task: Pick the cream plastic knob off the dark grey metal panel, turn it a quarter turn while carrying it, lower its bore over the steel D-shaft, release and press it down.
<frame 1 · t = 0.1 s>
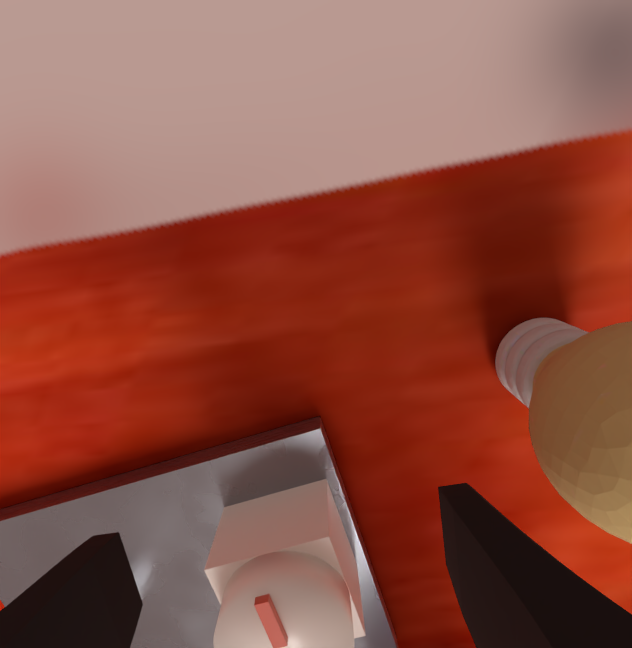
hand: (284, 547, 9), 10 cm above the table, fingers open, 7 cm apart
light bulb: (528, 352, 19), on the table
panel: (197, 578, 21), on the table
knob: (291, 536, 19), point 1 cm above the table, touching panel
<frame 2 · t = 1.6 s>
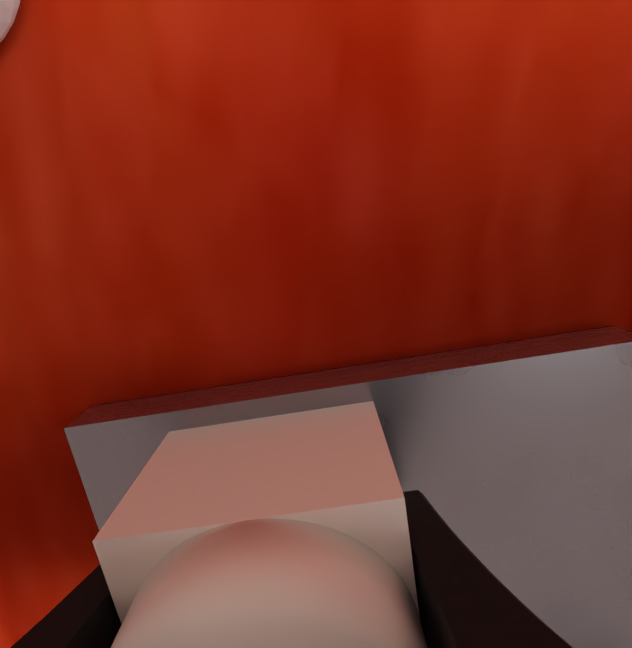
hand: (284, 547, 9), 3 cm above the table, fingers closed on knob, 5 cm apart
panel: (386, 630, 13), on the table
knob: (288, 504, 10), point 1 cm above the table, touching gripper, panel
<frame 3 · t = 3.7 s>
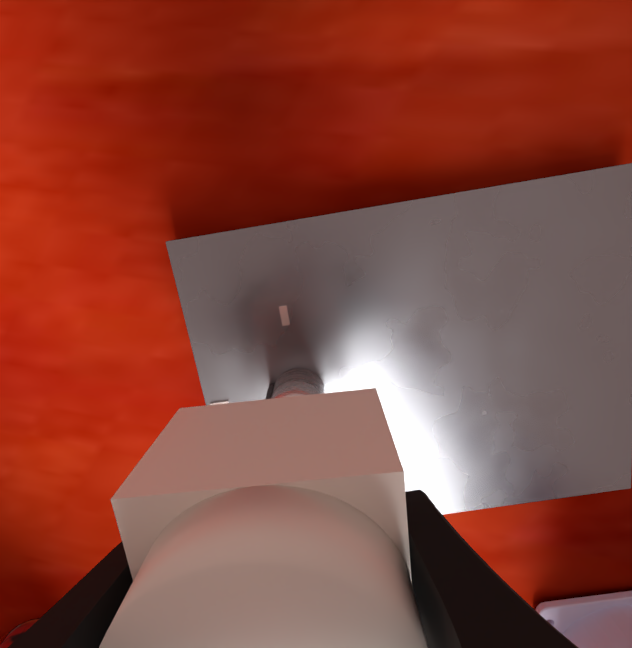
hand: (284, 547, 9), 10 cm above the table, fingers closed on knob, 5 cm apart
panel: (410, 365, 18), on the table
knob: (289, 484, 11), point 8 cm above the table, touching gripper
when the fingers open (3 cm above the table, at t = 5.7 s): knob stays where it is, resting on panel.
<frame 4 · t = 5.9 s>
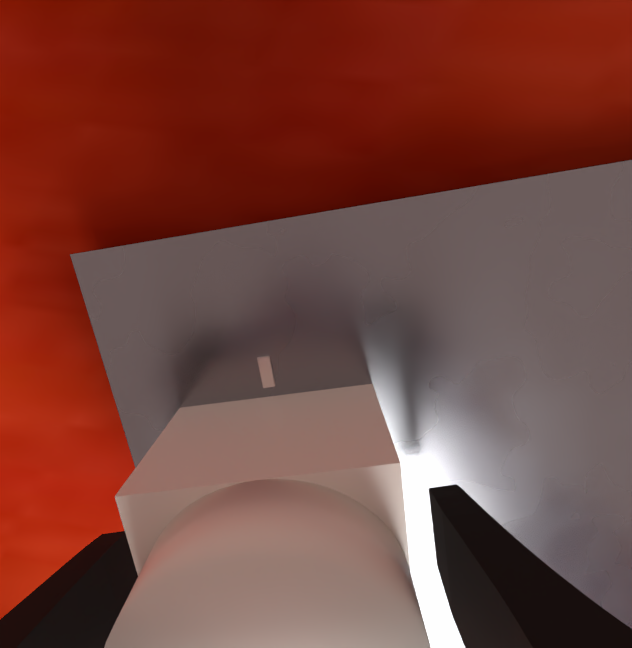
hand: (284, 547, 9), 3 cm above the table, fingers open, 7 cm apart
panel: (458, 437, 12), on the table
knob: (289, 480, 11), point 1 cm above the table, touching panel
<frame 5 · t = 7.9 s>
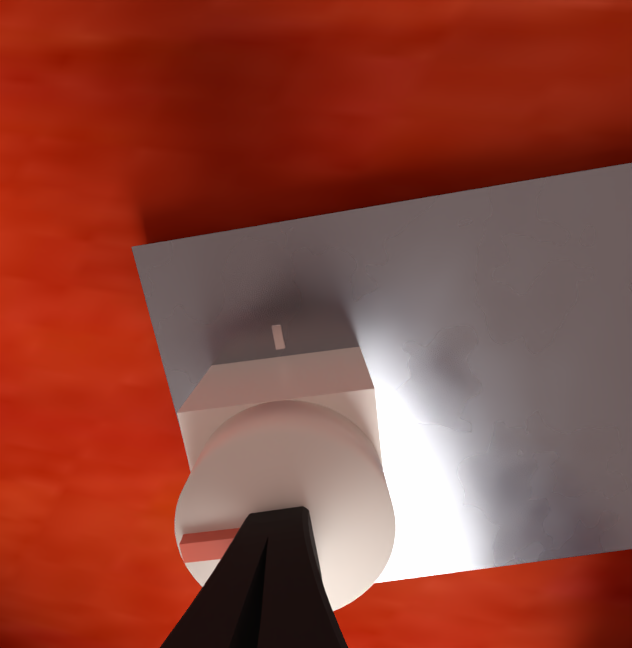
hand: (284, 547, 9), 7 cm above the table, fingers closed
panel: (429, 393, 15), on the table
knob: (296, 423, 14), point 1 cm above the table, touching gripper, panel
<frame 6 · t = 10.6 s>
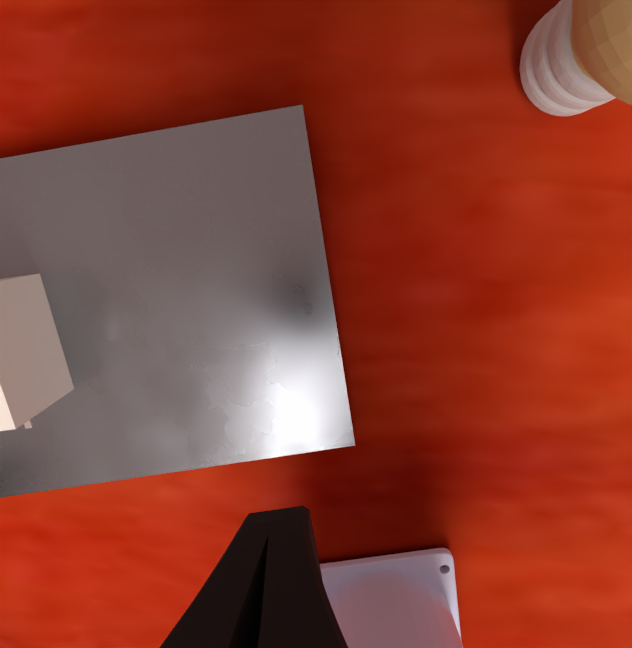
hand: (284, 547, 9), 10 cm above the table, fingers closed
light bulb: (557, 69, 16), on the table
panel: (129, 320, 18), on the table
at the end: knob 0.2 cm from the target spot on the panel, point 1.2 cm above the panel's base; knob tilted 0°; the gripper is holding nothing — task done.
